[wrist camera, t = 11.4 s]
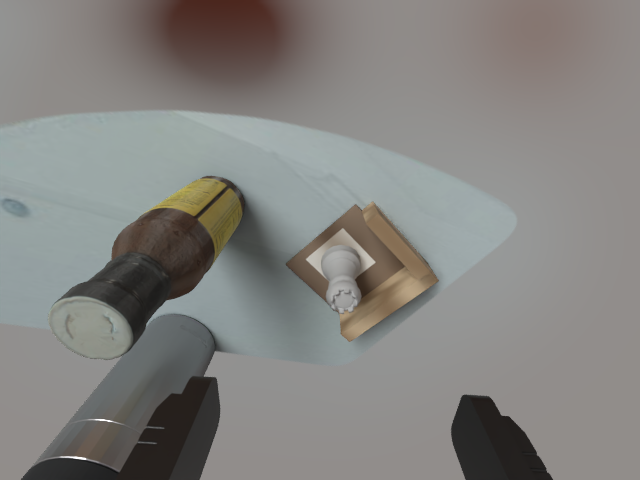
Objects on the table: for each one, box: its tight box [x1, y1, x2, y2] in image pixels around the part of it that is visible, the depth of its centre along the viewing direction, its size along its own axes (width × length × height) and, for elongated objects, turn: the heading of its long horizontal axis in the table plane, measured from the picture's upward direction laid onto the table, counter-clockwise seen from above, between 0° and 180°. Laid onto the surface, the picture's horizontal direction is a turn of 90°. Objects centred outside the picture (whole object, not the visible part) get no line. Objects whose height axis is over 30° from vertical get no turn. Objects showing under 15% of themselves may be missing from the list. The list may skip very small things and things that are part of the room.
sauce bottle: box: [48, 176, 244, 360], centre depth 24 cm, size 6×6×20 cm
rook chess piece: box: [321, 245, 361, 314], centre depth 31 cm, size 4×4×8 cm
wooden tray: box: [286, 202, 439, 342], centre depth 33 cm, size 12×11×4 cm
